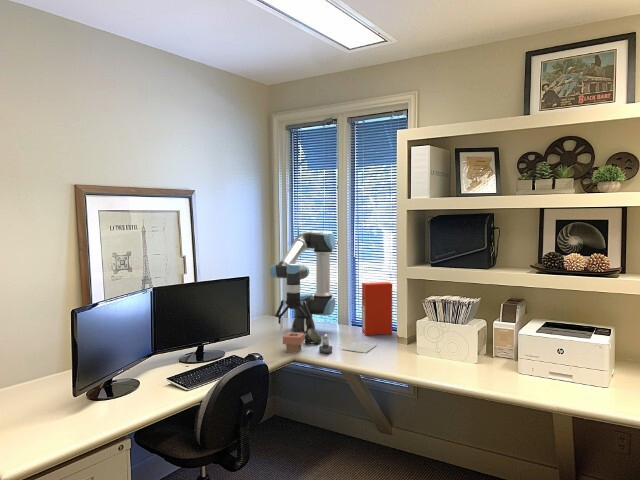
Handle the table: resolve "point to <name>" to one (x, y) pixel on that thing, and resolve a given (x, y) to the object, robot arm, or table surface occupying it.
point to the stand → (293, 347)
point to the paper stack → (359, 347)
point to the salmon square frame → (293, 338)
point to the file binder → (377, 308)
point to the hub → (325, 346)
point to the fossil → (312, 337)
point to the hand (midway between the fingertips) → (293, 330)
